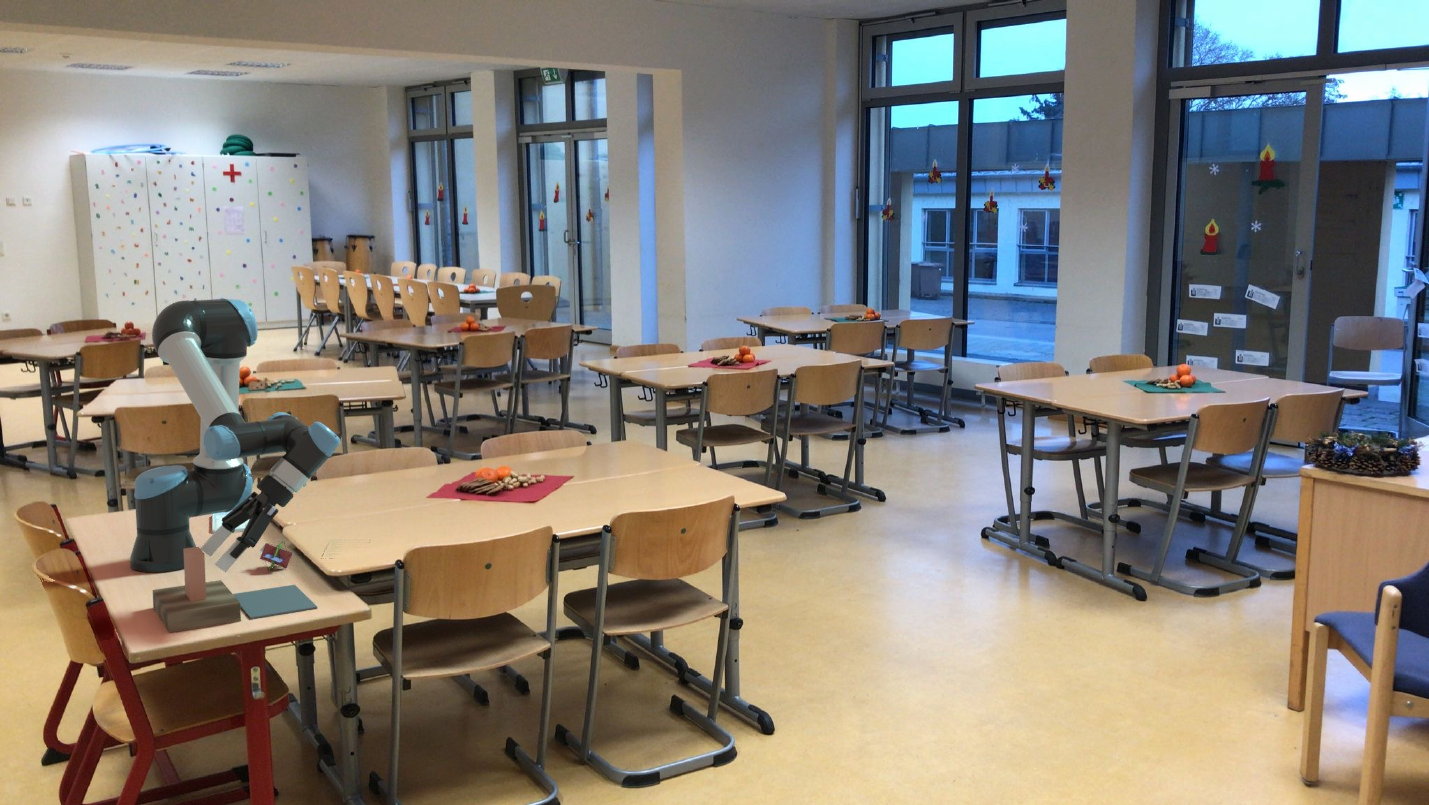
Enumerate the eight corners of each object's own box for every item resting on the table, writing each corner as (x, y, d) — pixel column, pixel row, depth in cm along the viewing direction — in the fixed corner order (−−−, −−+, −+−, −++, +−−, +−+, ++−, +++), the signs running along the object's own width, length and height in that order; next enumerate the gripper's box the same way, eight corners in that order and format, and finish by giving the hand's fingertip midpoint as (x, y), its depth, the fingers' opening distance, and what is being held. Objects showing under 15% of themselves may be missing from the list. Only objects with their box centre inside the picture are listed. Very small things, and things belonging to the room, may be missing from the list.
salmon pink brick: (185, 593, 252) (183, 548, 250) (200, 591, 253) (198, 546, 252) (191, 601, 247) (189, 555, 245) (206, 599, 249) (204, 553, 247)
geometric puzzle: (302, 556, 287) (281, 530, 286) (294, 564, 281) (273, 538, 279) (279, 573, 288) (258, 547, 286) (270, 581, 281) (249, 555, 280)
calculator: (212, 535, 312) (211, 529, 312) (212, 517, 331) (212, 511, 330) (265, 531, 318) (265, 525, 317) (262, 514, 336) (262, 507, 336)
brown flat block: (153, 607, 254) (152, 590, 254) (221, 597, 262) (221, 580, 261) (169, 632, 240) (168, 614, 239) (240, 621, 247) (240, 602, 247)
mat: (231, 595, 263) (231, 594, 263) (294, 586, 271) (294, 584, 271) (250, 619, 249) (250, 617, 249) (317, 608, 256) (317, 606, 256)
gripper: (311, 505, 248) (240, 585, 242) (279, 483, 268) (212, 556, 262) (284, 484, 244) (212, 565, 238) (253, 462, 264) (186, 536, 258)
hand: (212, 560), depth 250 cm, fingers open, 13 cm apart
